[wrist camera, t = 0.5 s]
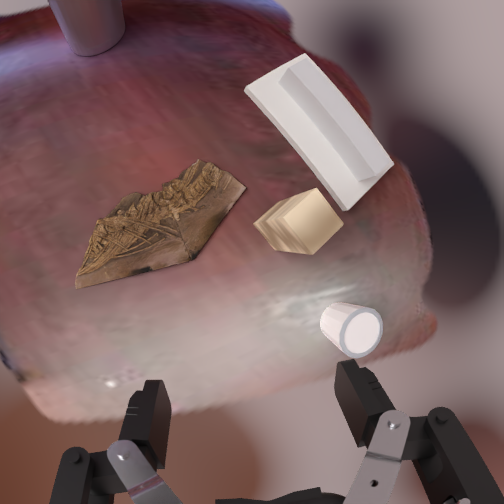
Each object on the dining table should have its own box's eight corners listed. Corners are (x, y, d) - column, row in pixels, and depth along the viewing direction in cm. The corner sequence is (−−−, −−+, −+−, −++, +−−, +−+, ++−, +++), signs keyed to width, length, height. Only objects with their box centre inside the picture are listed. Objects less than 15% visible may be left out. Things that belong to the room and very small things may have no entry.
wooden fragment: (225, 148, 38) (226, 145, 37) (263, 222, 40) (265, 222, 39) (55, 240, 34) (51, 240, 33) (92, 314, 35) (89, 316, 34)
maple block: (252, 223, 39) (283, 217, 27) (278, 201, 40) (316, 187, 28) (274, 250, 40) (312, 254, 28) (299, 227, 41) (343, 224, 29)
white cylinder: (311, 307, 41) (335, 319, 35) (352, 291, 43) (379, 299, 36) (321, 349, 42) (344, 366, 35) (359, 332, 44) (386, 345, 37)
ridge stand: (243, 91, 38) (253, 70, 32) (301, 57, 40) (316, 37, 34) (342, 211, 42) (365, 207, 36) (388, 165, 44) (412, 158, 38)
